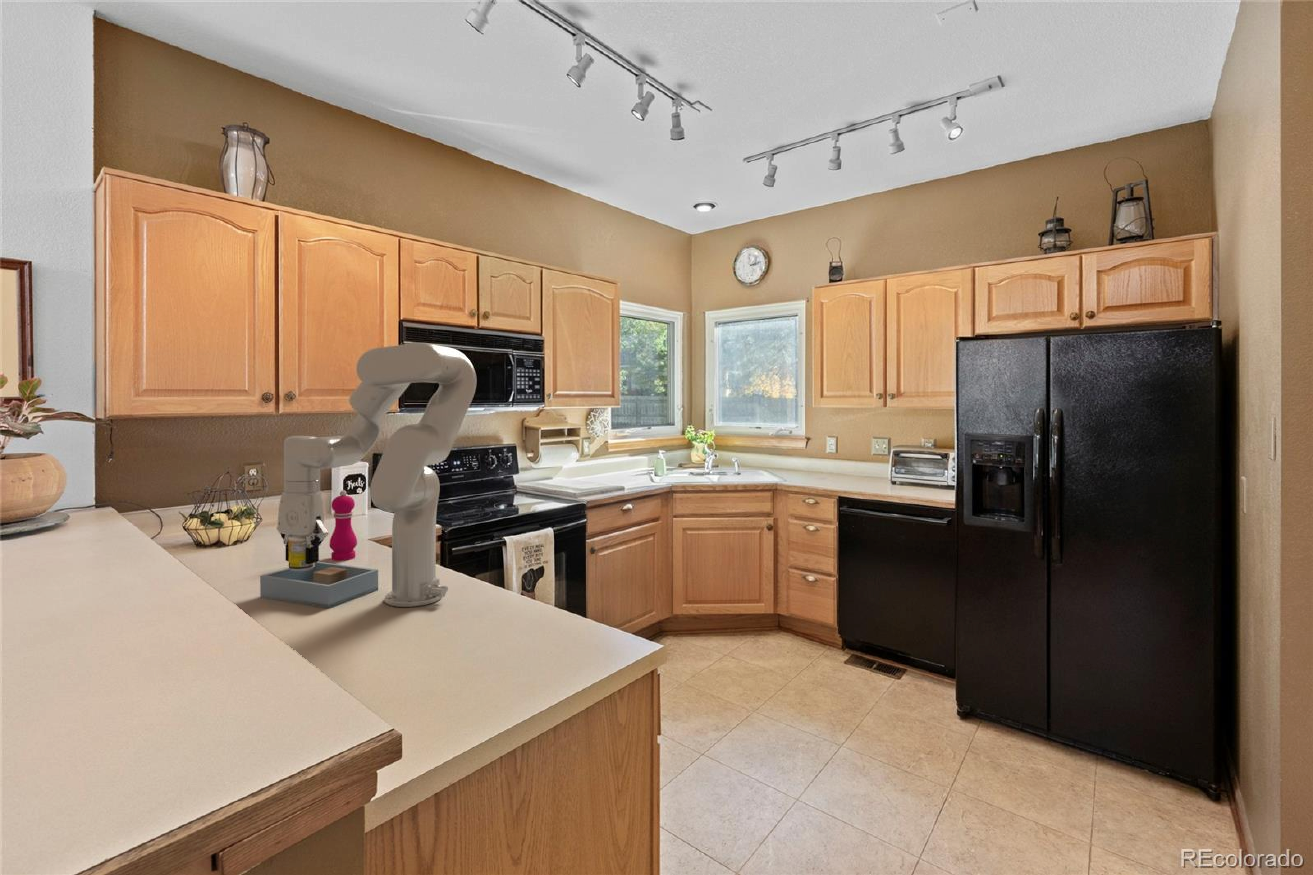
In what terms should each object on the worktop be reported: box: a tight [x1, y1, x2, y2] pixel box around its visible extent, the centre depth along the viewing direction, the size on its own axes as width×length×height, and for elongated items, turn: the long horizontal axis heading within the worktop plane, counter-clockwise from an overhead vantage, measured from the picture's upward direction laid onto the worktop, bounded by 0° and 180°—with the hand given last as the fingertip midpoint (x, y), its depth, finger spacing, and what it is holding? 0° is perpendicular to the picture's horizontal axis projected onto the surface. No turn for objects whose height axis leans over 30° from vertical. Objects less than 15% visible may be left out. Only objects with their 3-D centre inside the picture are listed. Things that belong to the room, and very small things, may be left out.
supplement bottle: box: [288, 535, 315, 571], centre depth 145 cm, size 6×6×10 cm
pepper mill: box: [328, 489, 358, 562], centre depth 175 cm, size 7×7×20 cm
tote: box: [259, 561, 379, 609], centre depth 144 cm, size 21×15×5 cm
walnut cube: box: [313, 567, 347, 585], centre depth 143 cm, size 5×5×5 cm
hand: (302, 560), depth 145 cm, fingers closed on supplement bottle, 5 cm apart
